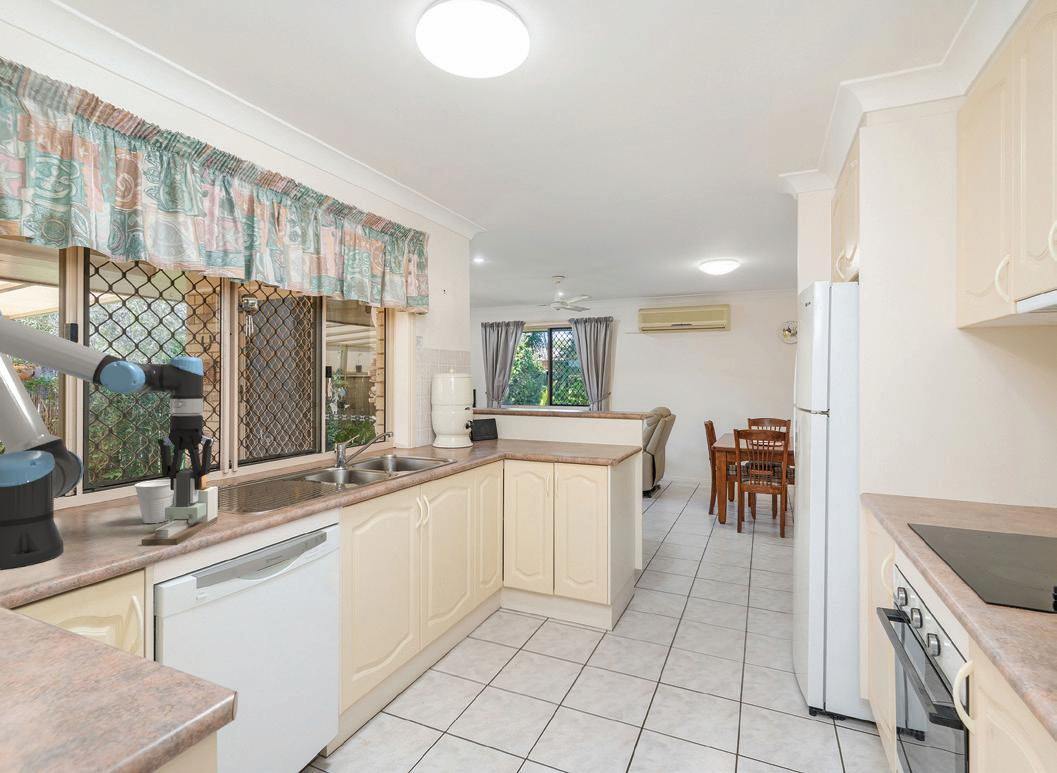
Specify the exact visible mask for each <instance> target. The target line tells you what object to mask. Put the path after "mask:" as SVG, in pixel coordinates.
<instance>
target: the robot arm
mask: <svg viewBox="0 0 1057 773" xmlns="http://www.w3.org/2000/svg"><path fill="white" fill-rule="evenodd" d="M9 357H12V358H16V359H19V360H22V361H25V362H29V363H30V364H31V363H32V364H34V365H36V366H37V365H38V366H40V367H42V368H43V367H44V368H46V369H49V370H53V371H55V372H58V373H61V374H65V375H68V376H71V377H72V378H76V379H79V380H82V381H85V382H88V383H90V384H94V385H97V386H100V387H102V388H105V389H106V390H108V391H109V392H111V393H115V394H119V395H130V394H136V393H137V394H138V393H169V413H170V414H172V415H171V416H169V434H168V435H167V437H164V438H160V439H158V440H157V444H158V446H159V448H160V461H161V462H160V463H161V464H160V465H161V474H162V476H163V477H168V478H169V480H170V489H171V490H174V503H176V473H179V472H181V468H182V461H183V457H184V456H183V455H184V452H185V450H187V452H188V455H189V460H190V463H191V471H193V477H192V478H191V479H190V503H194V502H197V501H198V490H199V489H201V487H202V477H203V476H204V475H206V476H207V475H209V474H210V473H211V464H212V448H213V445H214V442H215V438H213V437H212V438H210V437H208V436H205V433H204V430H203V429H204V428H203V427H204V416H203V415H202V414H203V412H204V378H205V377H204V364H203V360H202V359H201V358H200V357H197V356H196V357H195V356H171V358H170V359H169V362H168V363H161V364H160V363H139V362H133V361H129V360H126V359H123V358H120V357H118V356H116V355H111V354H110V353H109V354H108V353H105V352H103V351H100V350H97V349H95V348H92V347H89V346H86V345H83V344H81V343H77V342H75V341H72V340H69V339H67V338H64V337H60V336H59V335H56V334H52V333H49V332H47V331H44V330H41V329H38V328H36V327H33V326H31V325H27V324H24V323H22V322H19V321H16V320H14V319H11V318H8V317H6V316H5V317H4V316H3V313H2V311H1V310H0V442H1V444H2V445H3V447H4V452H3V453H2V454H0V570H3V569H14V568H20V567H23V566H30V565H34V564H38V563H43V562H46V561H49V560H52V559H55V558H57V557H59V556H61V555H62V554H64V550H65V549H64V546H65V544H64V540H63V539H62V537H61V533H60V531H59V529H58V527H57V524H56V523H55V518H54V514H55V512H54V511H55V499H57V498H59V497H62V496H65V495H66V494H68V493H70V492H71V491H72V490H73V489H74V488H76V486H78V484H80V483H81V480H82V479H83V475H84V468H85V467H84V464H83V461H82V459H81V458H80V456H78V454H76V453H74V452H73V451H71V450H69V449H68V448H67V446H66V444H65V443H64V441H63V439H62V437H59V436H56V435H54V434H51V433H50V431H49V430H48V429H49V428H47V426H46V424H45V421H43V419H42V417H41V415H40V412H39V411H38V409H37V408H36V406H35V404H34V402H33V400H32V399H31V396H30V395H29V393H28V391H27V389H26V387H25V385H24V384H23V382H22V380H21V378H20V377H19V375H18V373H17V370H16V369H15V367H14V365H13V363H12V362H11V360H10V358H9ZM171 443H172V444H173V450H172V451H173V455H172V452H171ZM201 443H202V445H203V447H202V454H201V458H200V447H199V445H200V444H201Z"/></svg>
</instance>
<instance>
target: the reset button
mask: <svg viewBox="0 0 1057 773" xmlns="http://www.w3.org/2000/svg"><path fill="white" fill-rule="evenodd" d="M206 487H207V475H204V476H203V477H202V487H201V489H199V490H198V491H203V490H205V489H206Z"/></svg>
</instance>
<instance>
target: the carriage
mask: <svg viewBox="0 0 1057 773" xmlns="http://www.w3.org/2000/svg"><path fill="white" fill-rule="evenodd" d="M192 477H193V471H192V470H182V471H180V472H179V473H176V504H173V503H172V505H171V506H168V507H166V508H165V519H168V520H169V523H170V522H173V521H175V520H177V519H188V523H194V522H196V521H198V520H200V519H202V516H204V515H206V503H196V502H194V503H190V479H191V478H192Z"/></svg>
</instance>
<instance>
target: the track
mask: <svg viewBox="0 0 1057 773" xmlns="http://www.w3.org/2000/svg"><path fill="white" fill-rule="evenodd" d="M217 520H218V516H217V517H215V518H214V519H212V520H210V521H208V522H198V521H196V522H194V523H188V519H177V520H175V521H173V522H170V521H169V523H166V524H165V525H162V526H160V527H158V528H156V529H155V530H154V533H152V534H150V535H147V536H146V537H143V538H142V539H141V546H142V545H145V546H175V545H176V546H177V545H178V544H181V543H182V542H184V541H186V540H188V539H190V538H192V537H194V534H195V535H196V533H197V532H198V533H200V532H201V530H202V529H204V528H205V529H207V528H208V527H207V526H209V525H210V524H212V523H214V522H215V521H217ZM214 524H215V523H214ZM212 525H213V524H212ZM206 527H207V528H206ZM209 527H210V526H209ZM205 529H204V530H205ZM199 531H200V532H199ZM202 531H203V530H202ZM198 533H197V534H198ZM187 538H188V539H187ZM185 539H186V540H185Z"/></svg>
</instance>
